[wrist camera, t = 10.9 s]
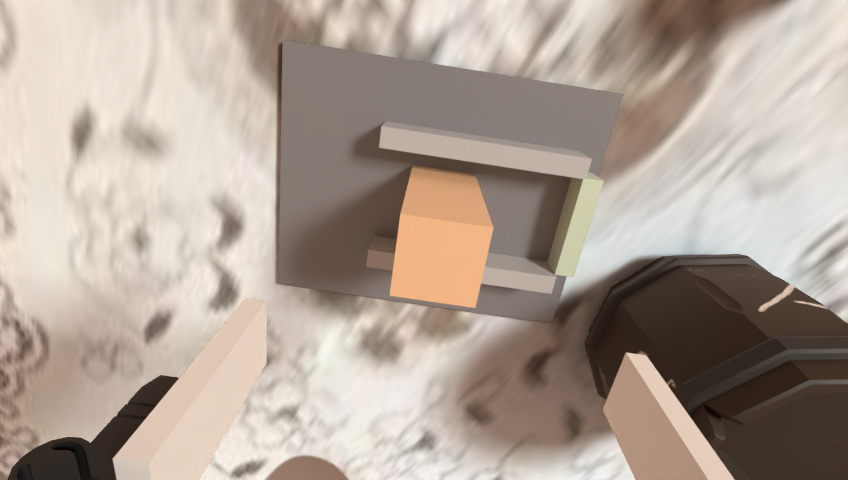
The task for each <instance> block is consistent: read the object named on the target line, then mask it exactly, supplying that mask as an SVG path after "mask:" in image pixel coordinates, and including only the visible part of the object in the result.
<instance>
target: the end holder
mask: <svg viewBox="0 0 848 480" xmlns="http://www.w3.org/2000/svg"><path fill="white" fill-rule="evenodd" d="M622 96H623V94H618V93H612V92H606V91H599V90H593V89H587V88H581V87H574V86H568V85H562V84H556V83H550V82H543V81H537V80H531V79H525V78H518V77H512V76H506V75H500V74H493V73H487V72H481V71H475V70H468V69H462V68H456V67H450V66H443V65H437V64H431V63H425V62H418V61H412V60H406V59H400V58H393V57H387V56H381V55H375V54H368V53H362V52H356V51H350V50H343V49H337V48H331V47H325V46H318V45H312V44H306V43H300V42H293V41H287V40H283V45H282V101H281V157H280V213H279V269H278V284H282V285H289V286H296V287H303V288H310V289H317V290H324V291H331V292H338V293H345V294H351V295H358V296H365V297H372V298H379V299H386V300H393V301H400V302H407V303H414V304H421V305H428V306H435V307H442V308H449V309H455V310H462V311H469V312H476V313H483V314H490V315H497V316H504V317H511V318H518V319H525V320H532V321H539V322H546V323H552V322H553V319H554V315H555V312H556V309H557V306H558V302H559V299H560V296H561V293H562V290H563V286H564V283H565V280H566V277H567V276H568V277H573V276H574V273H575V270H576V267H577V264H578V260H579V257H580V254H581V251H582V248H583V245H584V241H585V238H586V235H587V232H588V229H589V226H590V223H591V219H592V216H593V213H594V210H595V207H596V204H597V201H598V197H599V194H600V191H601V188H602V185H603V182H604V181H603V180H602V179H600V178H599V177H598V174H599V170H600V167H601V164H602V161H603V158H604V154H605V151H606V148H607V145H608V142H609V138H610V135H611V132H612V129H613V125H614V122H615V119H616V116H617V113H618V109H619V106H620V103H621V100H622ZM413 165H416V166H422V167H429V168H435V169H442V170H448V171H455V172H461V173H468V174H474V175H475V176H476V178H477V181H478V184H479V187H480V190H481V193H482V196H483V199H484V202H485V204H486V207H487V210H488V213H489V216H490V219H491V222H492V225H493V232H492V237H491V241H490V246H489V250H488V255H487V259H486V264H485V268H484V272H483V277H482V281H481V286H480V290H479V295H478V299H477V303H476V308H472V307H465V306H458V305H451V304H444V303H437V302H430V301H423V300H416V299H409V298H402V297H395V296H389V295H390V288H391V280H392V273H393V265H394V258H395V250H396V243H397V235H398V228H399V220H400V213H401V209H402V205H403V202H404V198H405V194H406V190H407V186H408V182H409V178H410V174H411V170H412V166H413Z"/></svg>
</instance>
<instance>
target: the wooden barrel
mask: <svg viewBox="0 0 848 480" xmlns="http://www.w3.org/2000/svg"><path fill="white" fill-rule="evenodd" d="M585 346H586V351H587V355H588V358H589V362H590V366H591V369H592V373H593V377H594V380H595V384H596V388H597V391H598V395H600V396H601V397H603V398H605V399H606V400H607V398H608V395H609V393H610V390H611V388H612V385H613V383H614V381H615V378H616V376H617V373H618V371H619V368H620V366H621V363H622V361H623V358H624V356H625V354H626V353H632V354H639V355H646V356H647V357H648V358H649V360H650V361H651V363H652V364H653V366H654V367H655V368H656V370H657V371H658V373H659V374H660V375H661V377H662V378H663V380H664V381H665V382H666V384H667V385H668V387H669V388H670V389H671V391H672V392H673V394H674V395H675V396H676V398H677V399H678V401H679V402H680V403H681V405H682V406H683V408H684V409H685V411H686V412H687V413H688V415H689V416H690V418H691V419H692V420H693V422H694V423H695V425H696V426H697V427H698V429H699V430H700V432H701V433H702V434H703V436H704V437H705V439H706V440H707V441H708V443H709V444H710V446H711V447H712V448H713V450H716V451H723V452H725V453H726V454H727V455H728V456H729V457H730V458H731V459H732V460H734V461H735V462H736V463H737V464H738V465H739V466H740V467H741V468H742V469H743V470H744V472H745V473H746V474H747V476H748V477H749V478H750V480H848V323H846V322H845V321H844V320H842V319H841V318H840V317H838V316H837V315H836V314H834V313H833V312H832V311H830V310H829V309H828V308H826V307H825V306H824V305H822V304H821V303H819V302H818V301H816V300H815V299H813V298H811V297H810V296H808V295H806V294H805V293H803V292H802V291H800V290H798V289H797V288H795V287H793V286H792V285H790V284H789V283H787V282H785V281H784V280H782V279H780V278H778V277H776V276H774V275H772V274H771V273H770V272H768V271H767V270H766V269H764V268H763V267H762V266H760V265H759V264H758V263H756V262H755V261H754V260H752V259H751V258H750V257H748V256H745V255H740V254H727V255H683V256H664V257H661V258H659V259H658V260H656V261H654V262H653V263H651V264H649V265H648V266H646V267H644V268H643V269H641V270H639V271H638V272H636V273H634V274H633V275H631V276H629V277H628V278H626V279H624V280H623V281H621V282H619V283H617V284H616V285H614V286H612V288H611V290H610V291H609V293H608V295H607V297H606V299H605V301H604V303H603V305H602V307H601V309H600V311H599V313H598V315H597V317H596V319H595V321H594V323H593V324H592V326H591V328H590V330H589V335H588V337H587V339H586V341H585Z"/></svg>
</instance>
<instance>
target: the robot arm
mask: <svg viewBox="0 0 848 480" xmlns="http://www.w3.org/2000/svg"><path fill="white" fill-rule="evenodd" d="M266 356H267V301H262V300H255V299H248V298H245V299H244V300H243V301H242V303H241V304H240V305H239V306H238V307H237V309H236V310H235V311H234V312H233V313H232V315H231V316H230V317H229V318H228V320H227V321H226V322H225V323H224V324H223V326H222V327H221V328H220V329H219V330H218V332H217V333H216V334H215V335H214V337H213V338H212V339H211V340H210V341H209V343H208V344H207V345H206V346H205V347H204V349H203V350H202V351H201V352H200V353H199V355H198V356H197V357H196V358H195V360H194V361H193V362H192V363H191V364H190V366H189V367H188V368H187V369H186V370H185V372H184V373H183V374H182V375H181V377H180V378H177V377H170V376H162V375H160V376H159V377H157V378H155V379H154V380H152V381H151V382H149V383H147V384H146V385H144V386H143V387H141V389H140V390H139V391H138V392H137V393H136V394H135V395H134V396H133V397H132V398H131V399H130V401H129V403H128V404H126V405H125V406H124V407H123V408H122V409H121V410H120V411H119V412H118V415H117V416H116V417H114V418H113V419H112V420H111V421H110V422H109V423H108V424H107V426H106V427H105V428H104V429H103V430H102V431H101V432H100V433H99V434H98V435H97V436H96V438H95V439H94V440H93V441H92V442H91V443H89V442H88V441H86V440H84V439H82V438H76V437H66V438H61V439H56V440H52V441H50V442H47V443H45V444H43V445H40V446H38V447H36V448H35V449H33V450H32V451H30V452H29V453H27V454H26V455H24V456H23V457H22V458H21V459H20V460H19V461H18V462H17V463H16V464H15V465H14V467H13V468H12V470H11V472H10V475H9V477H8V480H200V478H201V476H202V474H203V473H204V471H205V469H206V467H207V466H208V464H209V462H210V460H211V459H212V457H213V455H214V453H215V452H216V450H217V448H218V446H219V445H220V443H221V441H222V439H223V438H224V436H225V434H226V433H227V431H228V429H229V427H230V426H231V424H232V422H233V420H234V419H235V417H236V415H237V413H238V412H239V410H240V408H241V406H242V405H243V403H244V401H245V399H246V398H247V396H248V394H249V392H250V391H251V389H252V387H253V386H254V384H255V382H256V380H257V379H258V377H259V375H260V373H261V372H262V370H263V368H264V366H265V365H266ZM603 412H604V414H605V416H606V418H607V420H608V422H609V424H610V426H611V429H612V431H613V433H614V435H615V437H616V439H617V441H618V443H619V445H620V448H621V450H622V452H623V454H624V456H625V458H626V460H627V462H628V464H629V467H630V469H631V471H632V473H633V475H634V477H635V479H636V480H750V478H749V477H748V476H747V474H746V473H745V472H744V470H743V469H742V468H741V467H740V466H739V465H738V464H737V463H736V462H735V461H734V460H732V459H731V458H730V457H729V456H728V455H727V454H726V453H725V452H723V451H716V450H713V448H712V447H711V446H710V444H709V443H708V441H707V440H706V439H705V437H704V436H703V434H702V433H701V432H700V430H699V429H698V427H697V426H696V425H695V423H694V422H693V420H692V419H691V418H690V416H689V415H688V413H687V412H686V411H685V409H684V408H683V406H682V405H681V403H680V402H679V401H678V399H677V398H676V396H675V395H674V394H673V392H672V391H671V389H670V388H669V387H668V385H667V384H666V382H665V381H664V380H663V378H662V377H661V375H660V374H659V373H658V371H657V370H656V368H655V367H654V366H653V364H652V363H651V361H650V360H649V358H648V357H647V356H646V355H639V354H632V353H626V354H625V356H624V358H623V361H622V363H621V366H620V368H619V371H618V373H617V376H616V378H615V381H614V383H613V385H612V388H611V390H610V393H609V395H608V398H607V400H606V403H605V405H604V407H603Z"/></svg>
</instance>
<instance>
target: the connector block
mask: <svg viewBox="0 0 848 480" xmlns="http://www.w3.org/2000/svg"><path fill="white" fill-rule="evenodd" d="M492 232H493V225H492V222H491V219H490V216H489V213H488V210H487V207H486V204H485V202H484V199H483V196H482V193H481V190H480V187H479V184H478V181H477V178H476V176H475V175H474V174H468V173H461V172H455V171H448V170H442V169H435V168H429V167H422V166H416V165H413V166H412V170H411V174H410V178H409V182H408V186H407V190H406V194H405V198H404V202H403V205H402V209H401V213H400V220H399V228H398V235H397V243H396V250H395V258H394V265H393V273H392V280H391V288H390V295H389V296H395V297H402V298H409V299H416V300H423V301H430V302H437V303H444V304H451V305H458V306H465V307H472V308H476V303H477V299H478V295H479V290H480V286H481V281H482V277H483V272H484V268H485V264H486V259H487V255H488V250H489V246H490V241H491V237H492Z"/></svg>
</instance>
